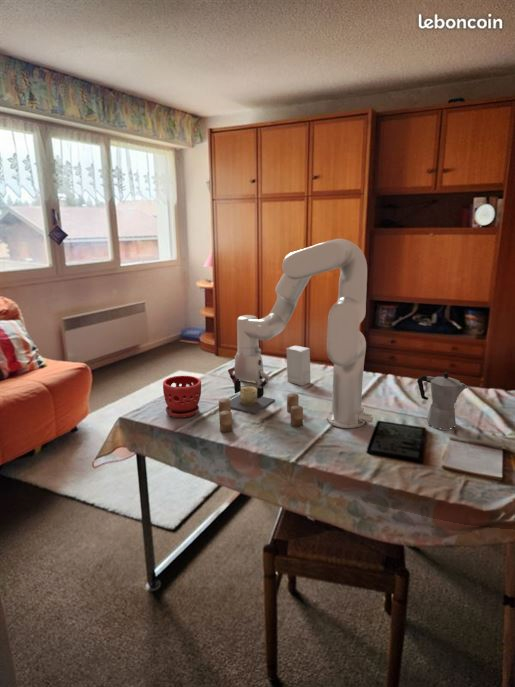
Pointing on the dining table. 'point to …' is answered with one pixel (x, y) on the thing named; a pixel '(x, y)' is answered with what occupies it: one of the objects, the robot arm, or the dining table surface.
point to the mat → (251, 409)
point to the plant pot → (182, 395)
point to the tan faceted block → (248, 395)
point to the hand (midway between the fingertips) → (248, 394)
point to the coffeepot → (442, 399)
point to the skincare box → (298, 365)
